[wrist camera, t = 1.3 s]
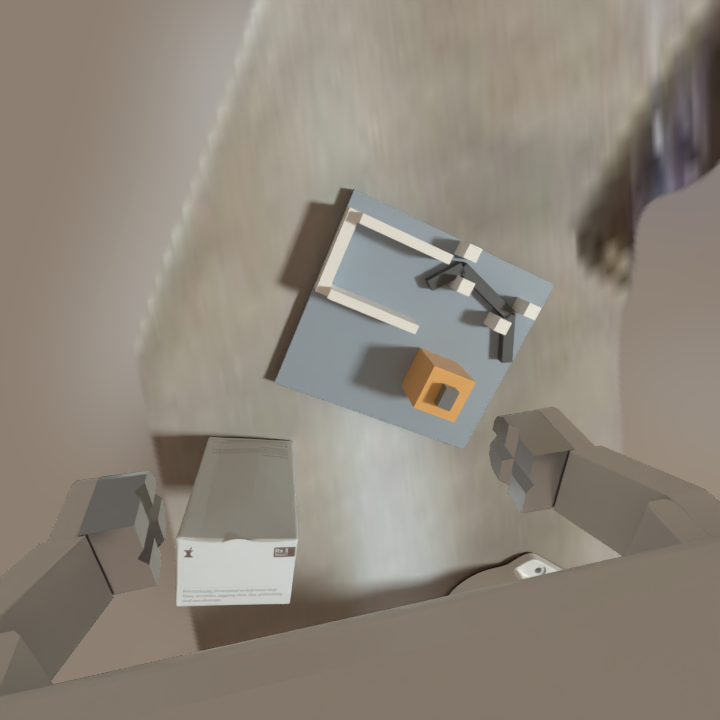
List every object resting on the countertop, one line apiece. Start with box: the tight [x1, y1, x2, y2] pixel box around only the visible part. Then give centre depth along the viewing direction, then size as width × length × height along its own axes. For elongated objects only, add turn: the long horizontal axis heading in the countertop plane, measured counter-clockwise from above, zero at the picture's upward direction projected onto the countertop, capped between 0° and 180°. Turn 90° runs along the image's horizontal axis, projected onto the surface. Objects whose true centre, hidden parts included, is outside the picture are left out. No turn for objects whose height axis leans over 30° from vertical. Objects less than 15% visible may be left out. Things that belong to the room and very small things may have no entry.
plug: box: [401, 348, 476, 422], centre depth 41 cm, size 4×4×6 cm
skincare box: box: [175, 437, 298, 606], centre depth 39 cm, size 8×6×15 cm
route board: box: [275, 189, 554, 449], centre depth 42 cm, size 20×18×4 cm
